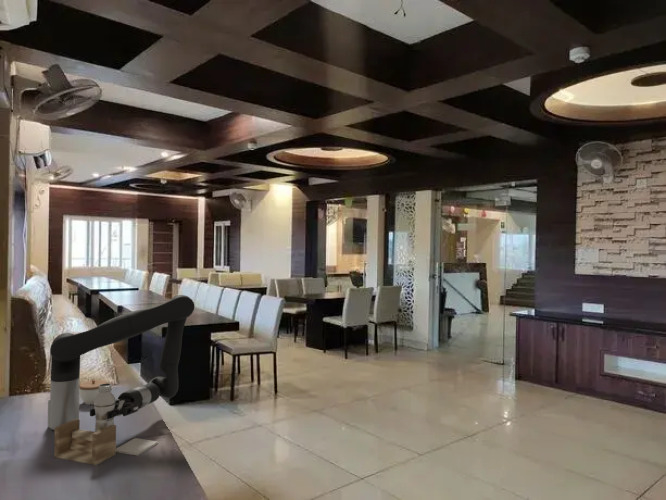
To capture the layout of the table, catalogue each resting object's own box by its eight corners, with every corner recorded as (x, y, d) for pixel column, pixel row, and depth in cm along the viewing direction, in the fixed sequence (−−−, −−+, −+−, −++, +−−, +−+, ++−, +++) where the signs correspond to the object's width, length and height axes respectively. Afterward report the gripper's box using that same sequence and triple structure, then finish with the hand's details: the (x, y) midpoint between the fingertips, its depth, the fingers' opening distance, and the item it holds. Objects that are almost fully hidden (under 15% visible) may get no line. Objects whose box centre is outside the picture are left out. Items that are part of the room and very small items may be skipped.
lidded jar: (82, 399, 207) (82, 376, 207) (109, 397, 210) (110, 375, 209) (75, 407, 197) (75, 384, 197) (104, 405, 199) (104, 382, 199)
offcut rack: (54, 457, 150) (54, 427, 150) (75, 447, 158) (75, 418, 158) (96, 465, 146) (96, 434, 146) (115, 454, 153) (116, 425, 153)
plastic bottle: (107, 451, 156) (108, 388, 156) (88, 448, 157) (89, 386, 157) (119, 443, 162) (120, 383, 162) (101, 441, 163) (102, 381, 163)
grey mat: (113, 451, 155) (113, 449, 155) (135, 439, 165) (135, 438, 165) (137, 455, 153) (137, 453, 153) (157, 443, 162) (157, 441, 162)
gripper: (118, 386, 175) (81, 400, 159) (152, 391, 171) (117, 405, 155) (118, 407, 175) (81, 423, 159) (151, 412, 171) (117, 429, 155)
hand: (99, 414), depth 157 cm, fingers closed on plastic bottle, 6 cm apart
